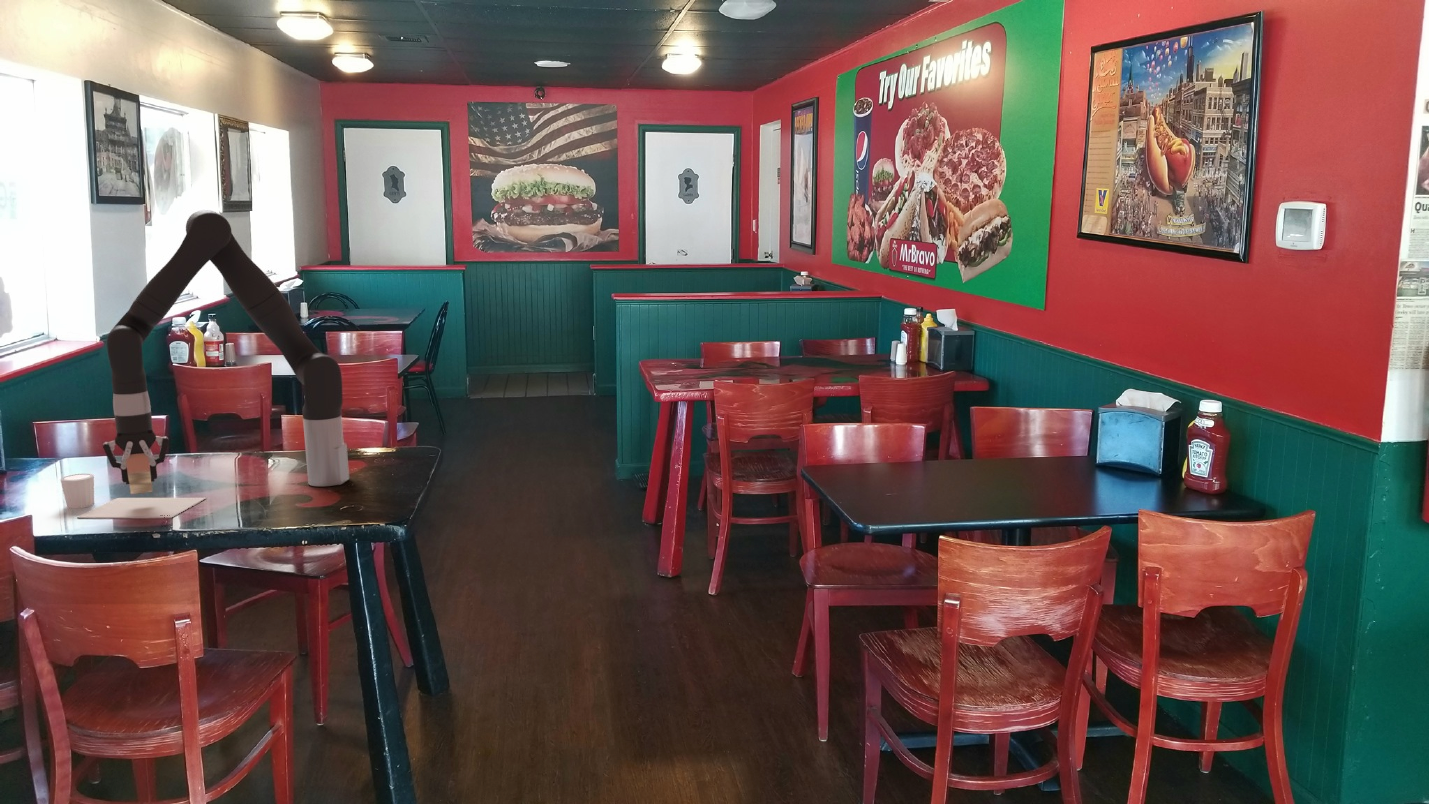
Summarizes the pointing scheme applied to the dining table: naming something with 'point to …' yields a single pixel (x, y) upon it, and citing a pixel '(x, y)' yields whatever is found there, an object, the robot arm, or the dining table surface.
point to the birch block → (139, 473)
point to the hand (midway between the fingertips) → (140, 482)
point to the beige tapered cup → (78, 490)
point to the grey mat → (142, 508)
